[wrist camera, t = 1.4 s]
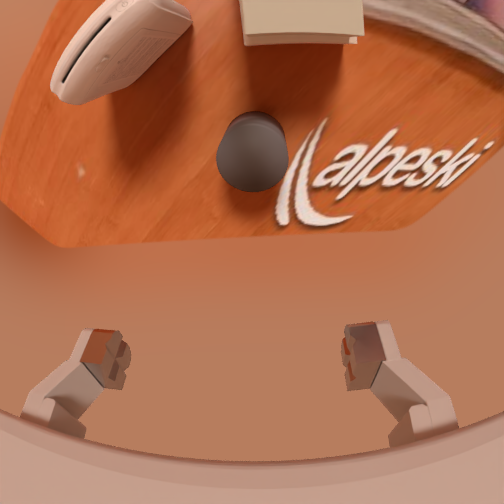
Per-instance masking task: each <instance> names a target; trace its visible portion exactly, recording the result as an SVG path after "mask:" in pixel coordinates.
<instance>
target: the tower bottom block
mask: <svg viewBox="0 0 504 504" xmlns="http://www.w3.org/2000/svg"><path fill="white" fill-rule="evenodd" d="M239 3H240V11H241V20H242V28H243V37H244V45H245V46H257V45H272V44H298V43H323V44H357V37H339V36H318V35H278V36H257V37H248V36H247V35H245V25H244V15H243V4H242V0H239Z"/></svg>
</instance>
